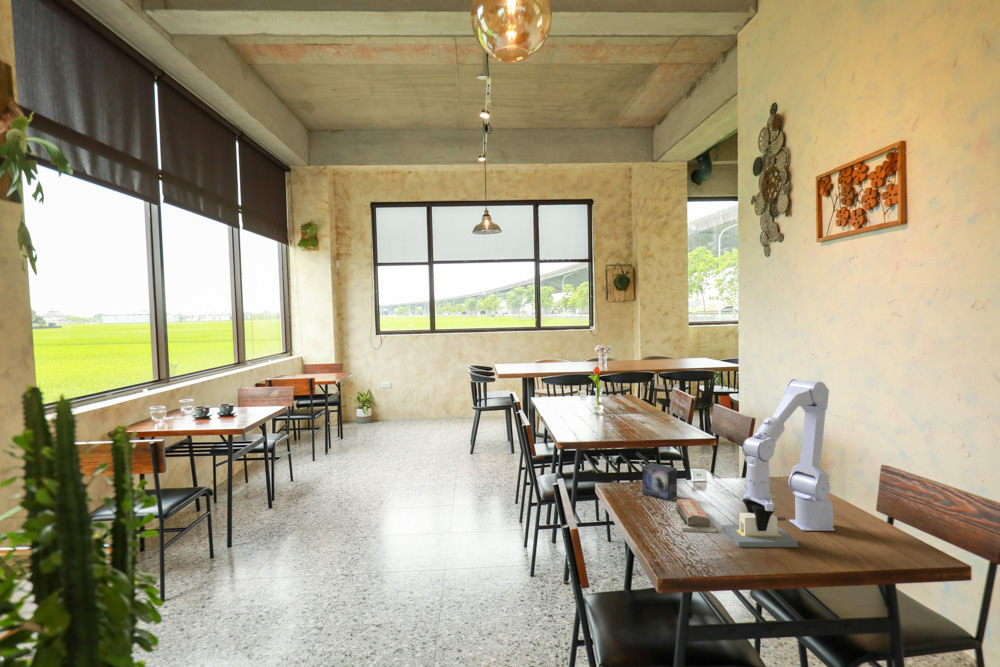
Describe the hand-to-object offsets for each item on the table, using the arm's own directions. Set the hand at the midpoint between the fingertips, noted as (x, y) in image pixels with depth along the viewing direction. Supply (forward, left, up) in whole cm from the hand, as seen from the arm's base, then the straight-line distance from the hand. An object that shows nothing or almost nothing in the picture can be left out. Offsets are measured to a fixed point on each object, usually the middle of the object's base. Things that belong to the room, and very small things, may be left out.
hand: (758, 527), depth 152 cm
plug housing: (-1, 0, -1) cm, 2 cm away
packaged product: (+14, -14, -4) cm, 20 cm away
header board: (0, 0, -3) cm, 3 cm away
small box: (+18, -38, -3) cm, 42 cm away
